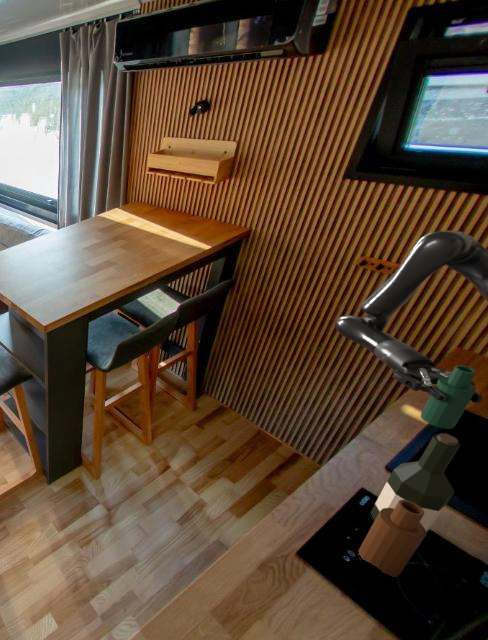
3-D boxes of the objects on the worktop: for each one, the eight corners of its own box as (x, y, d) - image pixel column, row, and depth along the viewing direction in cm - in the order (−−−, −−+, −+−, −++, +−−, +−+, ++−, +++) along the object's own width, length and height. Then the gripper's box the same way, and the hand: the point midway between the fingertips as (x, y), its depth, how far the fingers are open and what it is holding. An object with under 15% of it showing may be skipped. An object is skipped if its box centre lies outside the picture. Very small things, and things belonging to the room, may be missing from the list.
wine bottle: (369, 527, 86) (416, 441, 73) (369, 501, 91) (414, 415, 78) (425, 553, 80) (487, 463, 67) (422, 523, 85) (480, 434, 72)
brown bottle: (388, 552, 81) (421, 497, 73) (406, 582, 76) (444, 526, 68) (352, 544, 83) (381, 489, 75) (367, 573, 79) (400, 518, 70)
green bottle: (444, 414, 98) (472, 363, 91) (460, 430, 93) (492, 377, 86) (415, 411, 100) (440, 360, 93) (429, 426, 96) (458, 375, 88)
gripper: (375, 348, 105) (432, 388, 91) (438, 347, 102) (508, 389, 87) (367, 368, 109) (420, 410, 94) (428, 368, 105) (494, 411, 90)
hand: (462, 399), depth 91 cm, fingers closed on green bottle, 5 cm apart
